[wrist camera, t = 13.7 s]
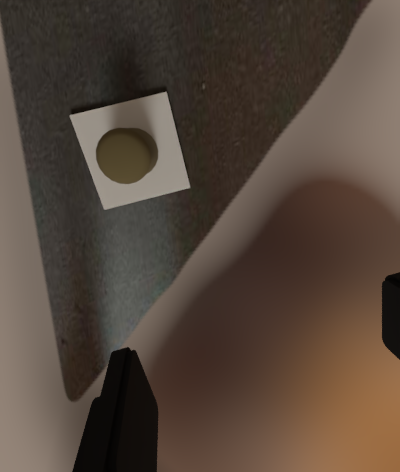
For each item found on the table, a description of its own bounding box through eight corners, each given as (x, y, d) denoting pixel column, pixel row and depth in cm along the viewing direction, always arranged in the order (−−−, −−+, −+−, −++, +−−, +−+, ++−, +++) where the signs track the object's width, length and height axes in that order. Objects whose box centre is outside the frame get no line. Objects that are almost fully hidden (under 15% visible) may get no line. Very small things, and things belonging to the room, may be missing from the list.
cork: (101, 139, 34) (73, 138, 24) (145, 119, 34) (136, 109, 24) (124, 184, 36) (108, 201, 26) (166, 165, 36) (166, 175, 26)
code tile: (166, 92, 34) (166, 91, 33) (189, 186, 38) (190, 187, 37) (71, 116, 34) (69, 115, 33) (105, 208, 38) (104, 209, 37)
